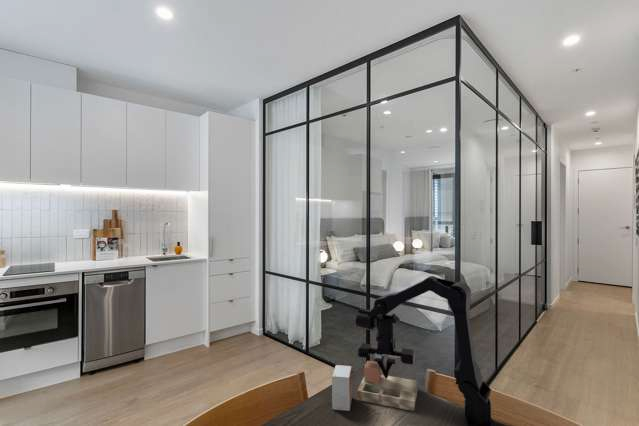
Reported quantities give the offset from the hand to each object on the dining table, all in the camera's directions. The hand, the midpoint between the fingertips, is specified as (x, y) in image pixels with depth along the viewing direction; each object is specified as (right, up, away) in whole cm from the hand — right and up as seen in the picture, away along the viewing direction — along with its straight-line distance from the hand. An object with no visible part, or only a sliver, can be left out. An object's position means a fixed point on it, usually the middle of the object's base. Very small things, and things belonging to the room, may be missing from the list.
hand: (386, 377), depth 112 cm
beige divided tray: (0, -4, -3) cm, 5 cm away
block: (-4, -1, +2) cm, 5 cm away
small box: (-16, -5, -7) cm, 18 cm away
